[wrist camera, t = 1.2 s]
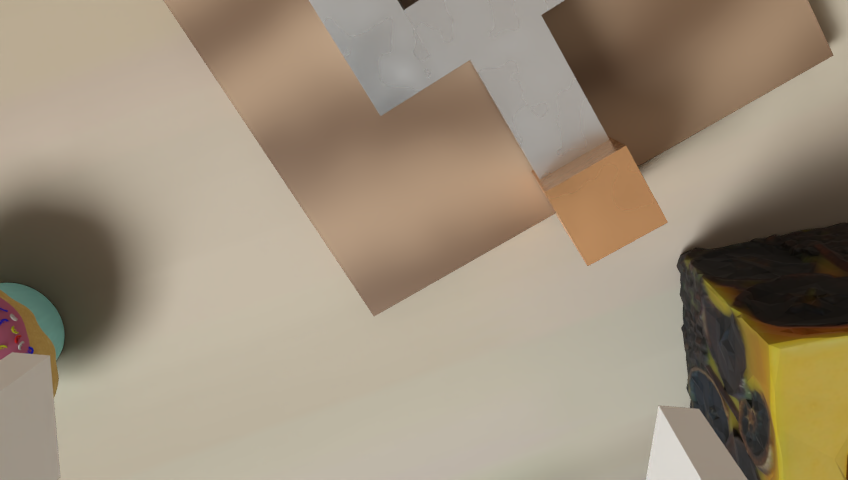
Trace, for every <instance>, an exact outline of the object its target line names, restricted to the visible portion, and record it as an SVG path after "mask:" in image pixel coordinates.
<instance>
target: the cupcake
mask: <svg viewBox="0 0 848 480" xmlns="http://www.w3.org/2000/svg"><path fill="white" fill-rule="evenodd" d="M64 338H65V333H64V326H63V322H62V319H61V317H60V315H59V313H58V311H57V310H56V308H55V307H54V305H53V304H52V303H51V302H50V301H49V300H48V299H47V298H46V297H45V296H44V295H42V294H41V293H40V292H38V291H36V290H35V289H33V288H30V287H28V286H25V285H22V284H17V283H0V360H1V359H3V358H4V357H6V356H7V355H9V354H10V353H12V352H14V353H26V354H39V355H50V361H51V373H52V385H53V396H55V394H56V390H57V386H58V379H59V378H58V371H57V365H56V360H57V359H58V357H59V355H60V353H61V351H62V349H63V345H64Z"/></svg>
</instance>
